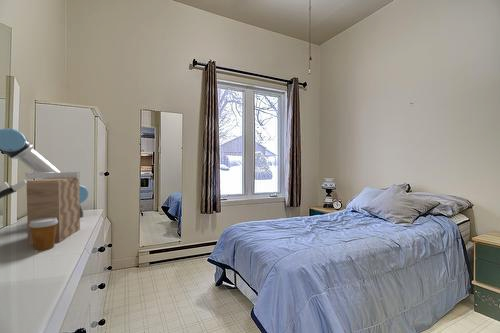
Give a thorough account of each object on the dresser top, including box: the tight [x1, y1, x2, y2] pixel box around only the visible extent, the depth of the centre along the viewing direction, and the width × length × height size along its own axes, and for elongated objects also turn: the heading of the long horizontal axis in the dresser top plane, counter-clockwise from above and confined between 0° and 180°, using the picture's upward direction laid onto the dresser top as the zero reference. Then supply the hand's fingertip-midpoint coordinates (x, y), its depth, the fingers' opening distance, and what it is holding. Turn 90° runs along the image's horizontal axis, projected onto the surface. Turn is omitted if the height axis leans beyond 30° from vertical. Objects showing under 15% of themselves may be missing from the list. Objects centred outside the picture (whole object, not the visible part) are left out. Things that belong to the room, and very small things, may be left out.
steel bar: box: [24, 171, 81, 180], centre depth 125 cm, size 4×22×3 cm, turn 104°
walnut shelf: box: [26, 178, 81, 246], centre depth 120 cm, size 22×12×28 cm, turn 14°
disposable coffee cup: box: [29, 218, 58, 252], centre depth 104 cm, size 10×10×12 cm
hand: (17, 183), depth 121 cm, fingers open, 13 cm apart
